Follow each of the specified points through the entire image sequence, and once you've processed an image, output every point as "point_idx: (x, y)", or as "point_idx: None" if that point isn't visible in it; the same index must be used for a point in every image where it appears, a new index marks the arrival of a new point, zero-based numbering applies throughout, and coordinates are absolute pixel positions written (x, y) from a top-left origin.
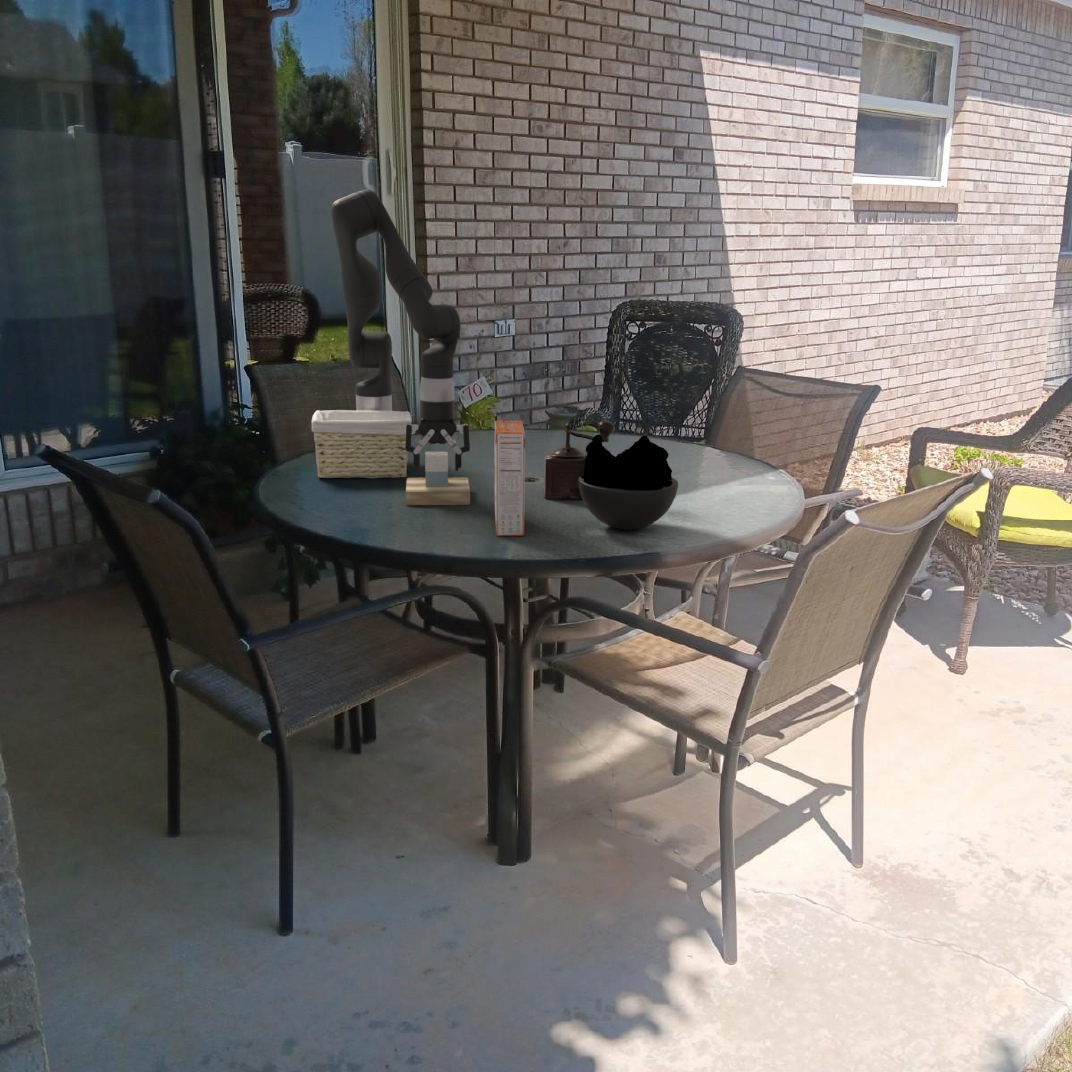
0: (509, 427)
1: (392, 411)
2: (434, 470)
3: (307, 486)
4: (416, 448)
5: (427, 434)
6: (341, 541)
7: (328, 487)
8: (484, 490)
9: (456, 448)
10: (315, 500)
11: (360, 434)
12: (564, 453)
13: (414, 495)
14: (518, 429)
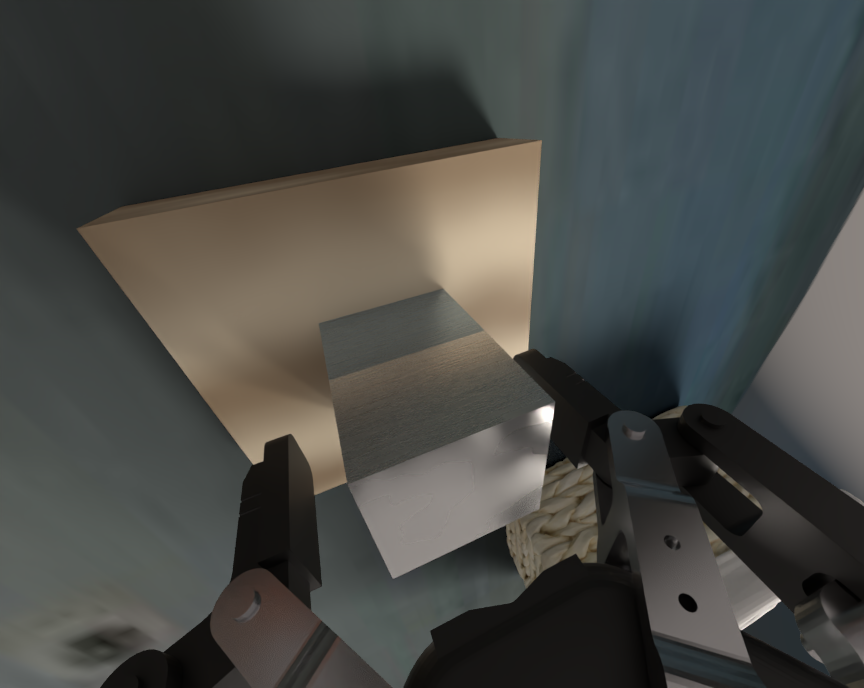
0: None
1: None
2: (428, 352)
3: (722, 335)
4: (656, 451)
5: (746, 678)
6: None
7: (685, 341)
8: (211, 485)
9: (274, 635)
10: (770, 175)
11: (719, 548)
12: None
13: (482, 148)
14: None
